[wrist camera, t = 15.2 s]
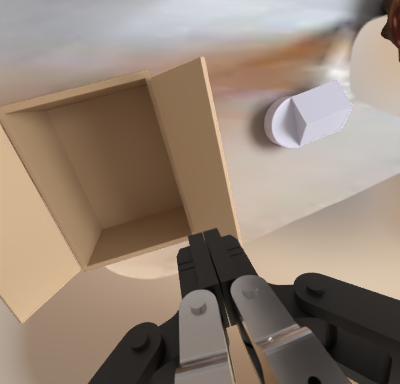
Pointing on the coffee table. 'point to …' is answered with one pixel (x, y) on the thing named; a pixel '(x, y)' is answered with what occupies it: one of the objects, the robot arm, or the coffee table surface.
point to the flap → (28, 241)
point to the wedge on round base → (307, 115)
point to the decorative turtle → (392, 22)
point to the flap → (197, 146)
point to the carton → (103, 168)
